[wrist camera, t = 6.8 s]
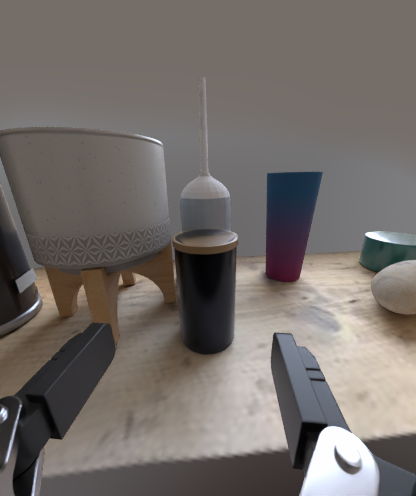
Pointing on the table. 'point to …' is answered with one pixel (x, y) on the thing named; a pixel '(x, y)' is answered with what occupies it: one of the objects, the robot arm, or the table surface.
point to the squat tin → (386, 249)
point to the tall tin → (206, 288)
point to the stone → (396, 287)
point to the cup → (289, 221)
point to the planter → (91, 212)
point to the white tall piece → (204, 187)
